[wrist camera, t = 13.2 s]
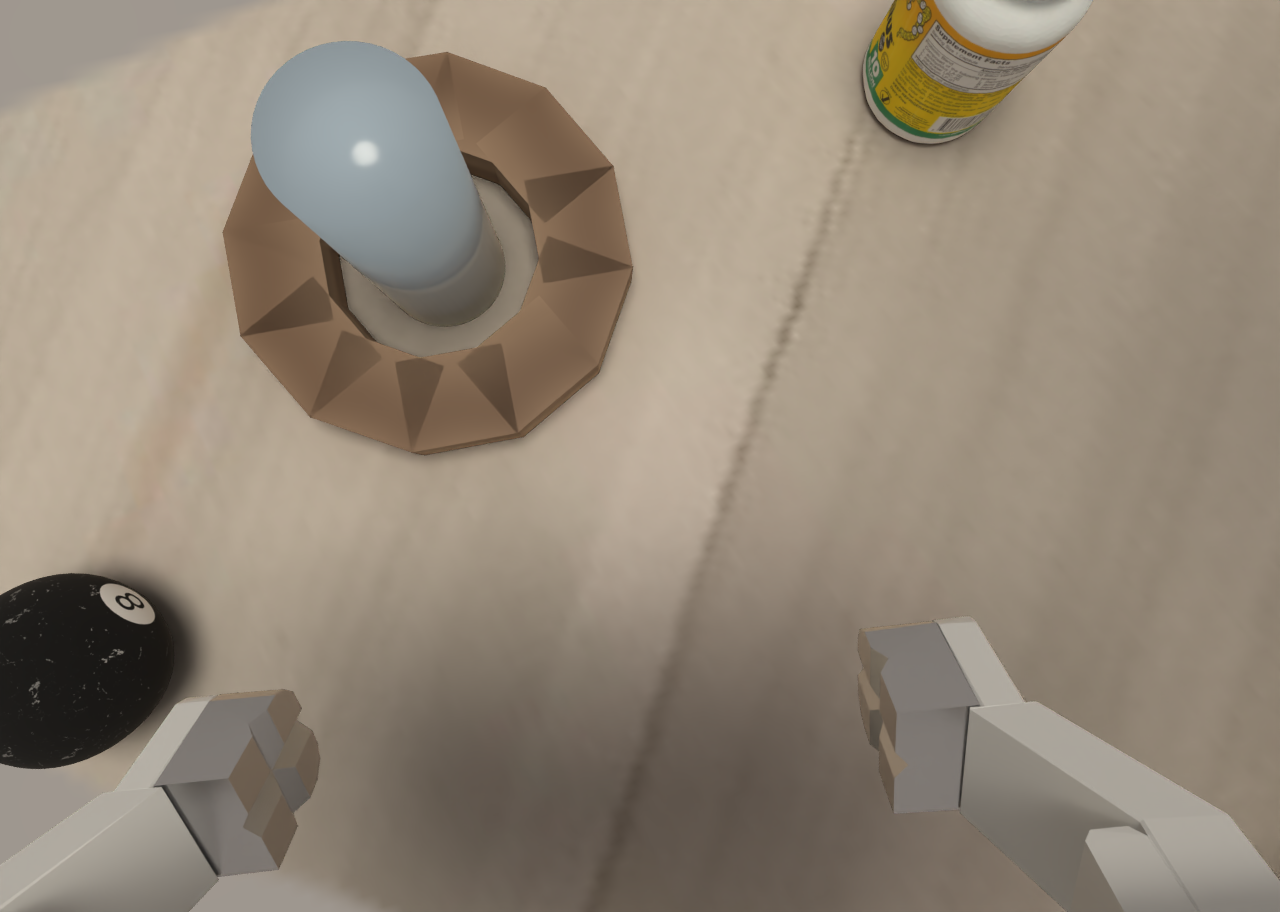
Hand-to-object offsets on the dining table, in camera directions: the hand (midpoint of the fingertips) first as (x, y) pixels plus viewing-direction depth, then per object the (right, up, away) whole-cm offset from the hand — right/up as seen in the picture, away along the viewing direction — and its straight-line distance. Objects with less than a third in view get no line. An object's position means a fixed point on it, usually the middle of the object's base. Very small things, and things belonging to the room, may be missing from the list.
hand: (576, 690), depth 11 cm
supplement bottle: (+12, +18, +20) cm, 30 cm away
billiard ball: (-18, -4, +18) cm, 26 cm away
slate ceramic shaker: (-7, +11, +18) cm, 22 cm away
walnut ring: (-7, +11, +18) cm, 22 cm away
